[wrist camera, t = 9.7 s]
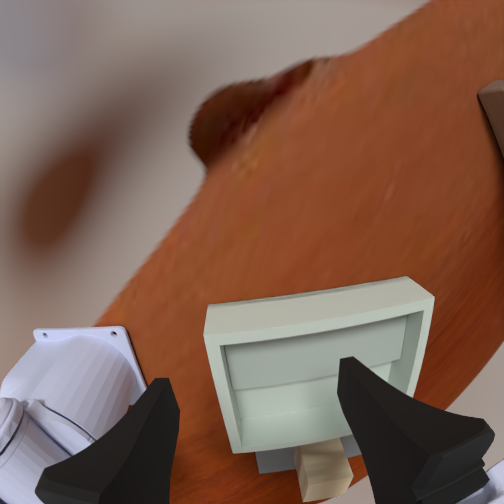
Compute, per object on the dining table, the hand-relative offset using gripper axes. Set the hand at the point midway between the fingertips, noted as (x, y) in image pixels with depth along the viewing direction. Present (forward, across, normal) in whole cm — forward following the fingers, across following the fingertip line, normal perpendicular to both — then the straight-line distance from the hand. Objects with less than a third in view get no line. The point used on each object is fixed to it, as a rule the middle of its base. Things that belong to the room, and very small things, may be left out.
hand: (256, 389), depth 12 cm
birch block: (+9, -5, +18) cm, 21 cm away
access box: (+9, -5, +6) cm, 12 cm away
